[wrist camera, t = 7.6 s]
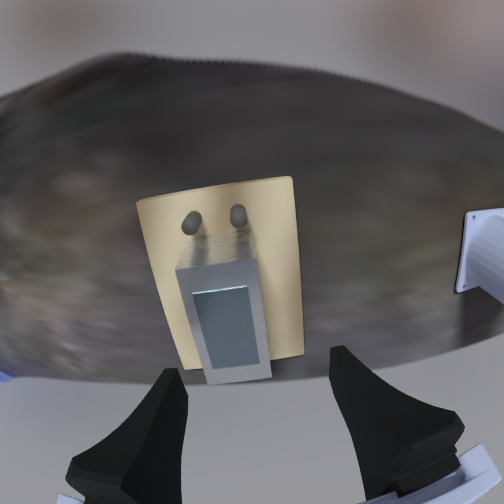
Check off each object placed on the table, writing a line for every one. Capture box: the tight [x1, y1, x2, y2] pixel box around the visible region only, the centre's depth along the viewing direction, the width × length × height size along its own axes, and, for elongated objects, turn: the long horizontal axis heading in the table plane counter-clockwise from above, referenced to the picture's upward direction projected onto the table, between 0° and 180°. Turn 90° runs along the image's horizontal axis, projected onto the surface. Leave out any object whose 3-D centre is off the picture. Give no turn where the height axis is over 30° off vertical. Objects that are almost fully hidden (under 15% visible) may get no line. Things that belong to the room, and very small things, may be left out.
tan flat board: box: [136, 176, 304, 370], centre depth 20 cm, size 10×14×3 cm
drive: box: [175, 229, 272, 385], centre depth 18 cm, size 4×8×5 cm, turn 7°
